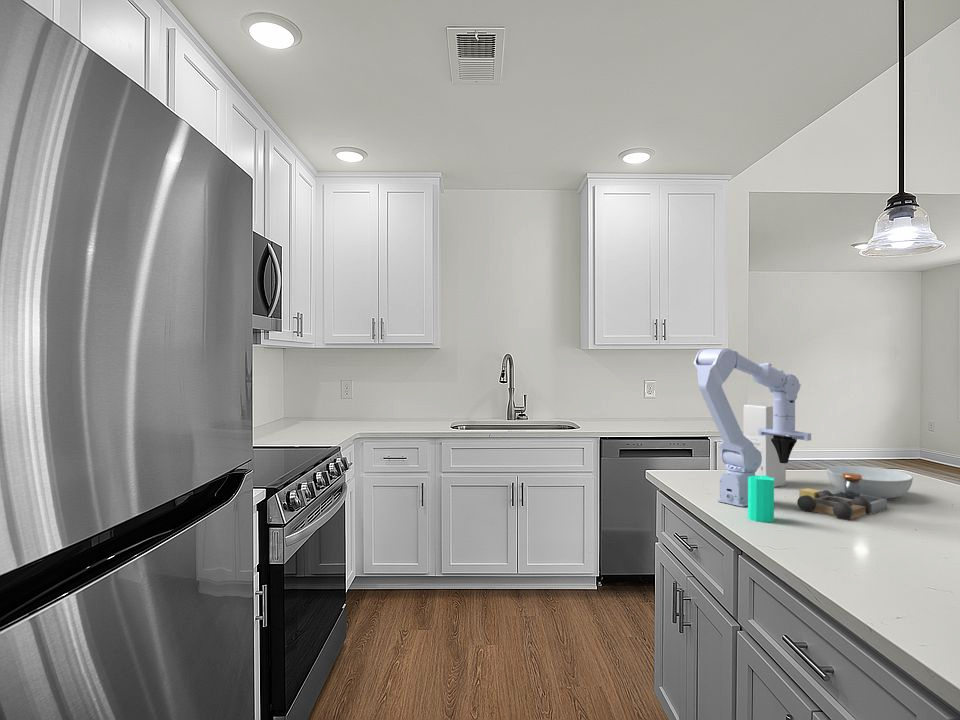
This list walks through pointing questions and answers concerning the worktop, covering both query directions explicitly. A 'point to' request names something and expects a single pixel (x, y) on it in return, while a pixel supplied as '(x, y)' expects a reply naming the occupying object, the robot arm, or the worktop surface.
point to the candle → (761, 498)
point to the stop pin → (852, 485)
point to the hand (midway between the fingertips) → (783, 462)
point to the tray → (875, 502)
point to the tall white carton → (764, 441)
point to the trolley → (834, 505)
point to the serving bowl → (873, 480)
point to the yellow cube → (808, 492)
